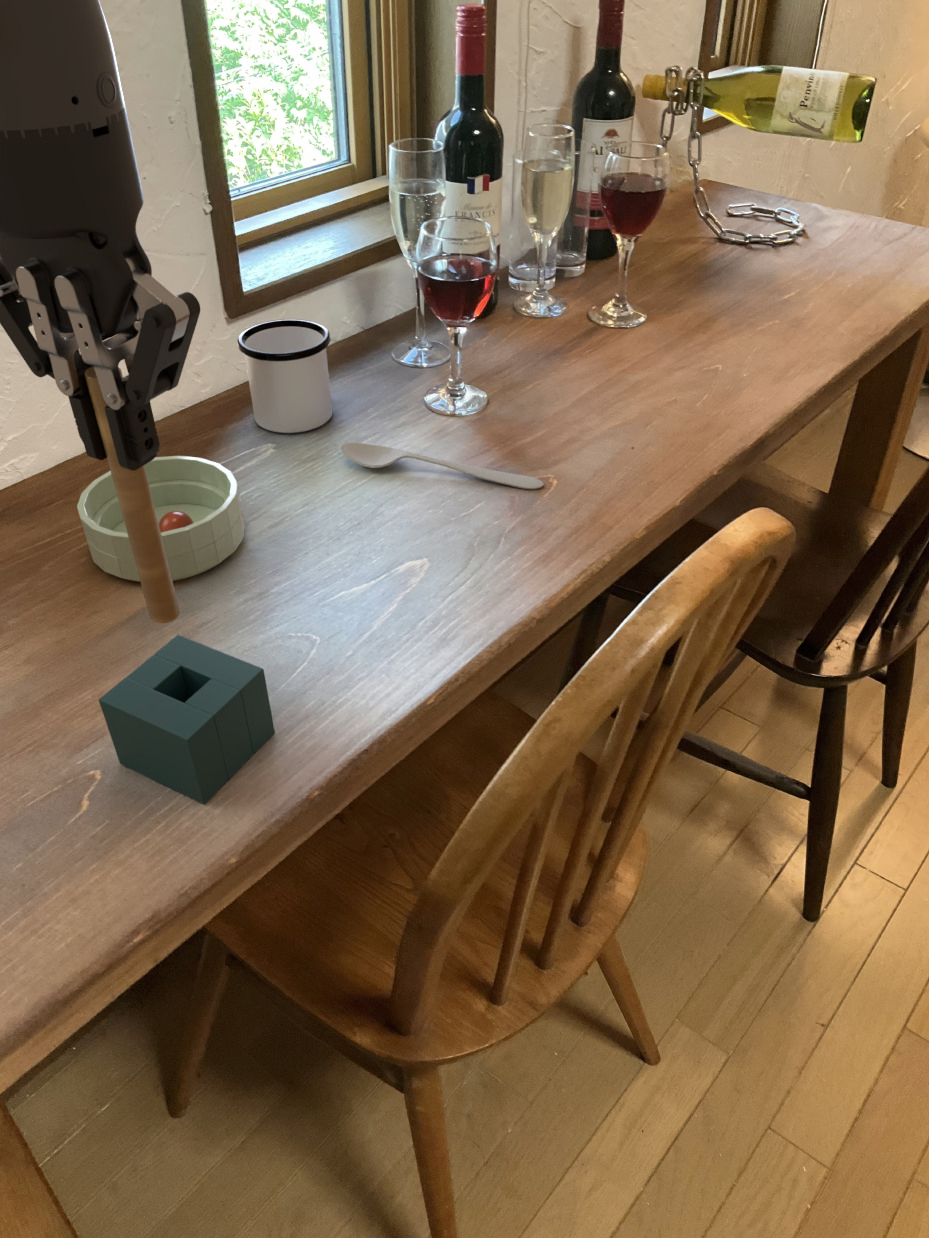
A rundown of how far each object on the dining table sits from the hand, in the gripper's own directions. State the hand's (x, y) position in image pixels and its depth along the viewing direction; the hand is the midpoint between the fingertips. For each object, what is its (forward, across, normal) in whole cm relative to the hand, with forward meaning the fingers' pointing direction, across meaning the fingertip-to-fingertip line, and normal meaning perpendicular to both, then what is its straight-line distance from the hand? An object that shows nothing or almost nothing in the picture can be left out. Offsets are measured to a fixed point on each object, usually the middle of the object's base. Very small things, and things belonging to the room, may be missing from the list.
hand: (124, 457), depth 52 cm
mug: (+22, -23, +44) cm, 54 cm away
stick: (+11, 0, 0) cm, 11 cm away
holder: (+22, 0, 0) cm, 22 cm away
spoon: (+22, -3, +40) cm, 46 cm away
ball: (+20, -17, +17) cm, 32 cm away
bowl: (+22, -18, +18) cm, 34 cm away
